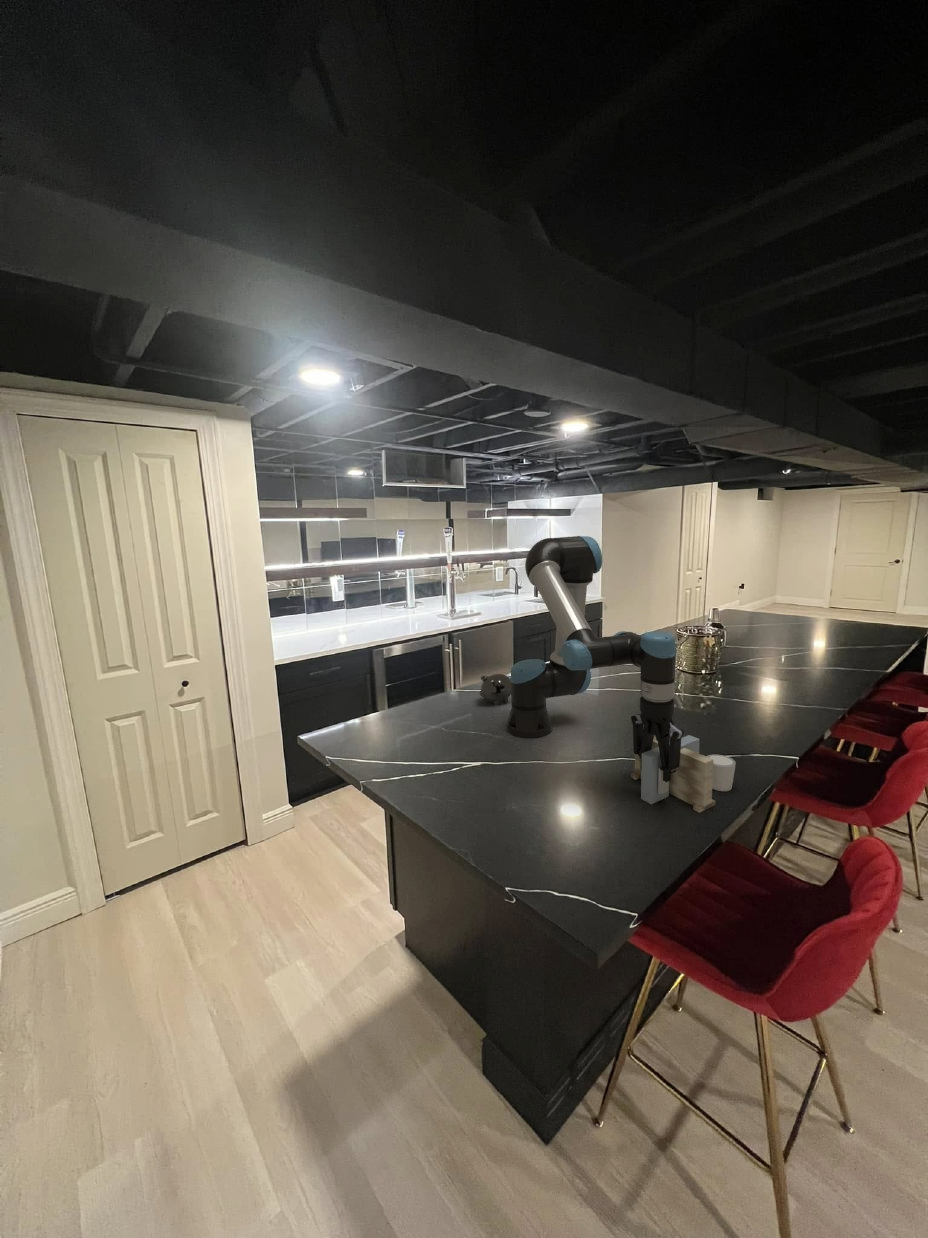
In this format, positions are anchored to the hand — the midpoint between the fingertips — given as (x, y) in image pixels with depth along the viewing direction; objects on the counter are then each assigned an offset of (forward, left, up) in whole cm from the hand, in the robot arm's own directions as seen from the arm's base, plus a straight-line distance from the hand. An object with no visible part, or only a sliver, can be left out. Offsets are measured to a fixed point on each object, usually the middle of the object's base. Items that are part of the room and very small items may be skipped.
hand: (655, 787), depth 118 cm
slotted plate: (-4, +4, -3) cm, 6 cm away
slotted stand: (-4, +4, -3) cm, 6 cm away
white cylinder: (-9, +16, -3) cm, 19 cm away
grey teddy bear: (-61, -52, -3) cm, 80 cm away
